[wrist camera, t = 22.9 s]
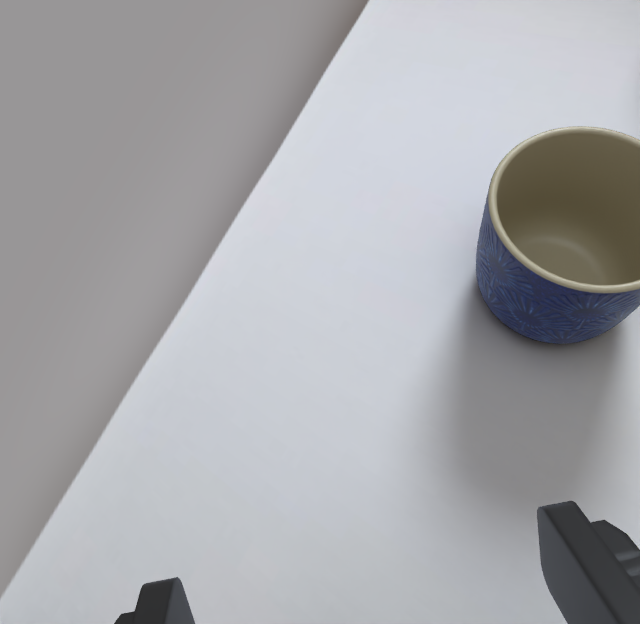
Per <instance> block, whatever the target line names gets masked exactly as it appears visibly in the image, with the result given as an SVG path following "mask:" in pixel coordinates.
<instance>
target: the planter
mask: <svg viewBox="0 0 640 624" xmlns="http://www.w3.org/2000/svg"><path fill="white" fill-rule="evenodd" d="M476 274H477V280H478V285H479V288H480V291H481V294H482V296H483V298H484V300H485V302H486V303H487V305H488V307H489V308H490V309H491V311H492V312H493V313H494V314H495V315H496V316H497V317H498V319H499V320H501V321H502V322H503V323H504V324H505V325H507V326H508V327H509V328H511V329H512V330H514V331H516V332H517V333H519V334H521V335H523V336H526V337H528V338H531V339H534V340H538V341H542V342H547V343H558V344H561V343H575V342H580V341H584V340H587V339H590V338H593V337H596V336H598V335H600V334H602V333H604V332H606V331H608V330H609V329H611V328H612V327H614V326H615V325H617V324H618V323H619V322H621V321H622V320H623V319H625V318H626V317H627V316H628V315H629V314H631V313H632V312H633V311H634V310H635V309H636V308H637V307H638V306H639V305H640V140H638V139H636V138H634V137H632V136H629V135H626V134H623V133H620V132H617V131H613V130H609V129H604V128H597V127H583V126H578V127H565V128H558V129H553V130H549V131H546V132H542V133H540V134H537V135H535V136H532V137H531V138H529V139H527V140H525V141H523V142H522V143H520V144H519V145H517V146H516V147H515V148H513V149H512V150H511V151H510V152H509V153H508V154H507V155H506V156H505V157H504V158H503V159H502V161H501V162H500V163H499V165H498V167H497V168H496V170H495V172H494V174H493V177H492V179H491V182H490V186H489V191H488V195H487V200H486V204H485V209H484V213H483V218H482V222H481V227H480V232H479V238H478V245H477V253H476Z"/></svg>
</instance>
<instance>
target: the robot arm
mask: <svg viewBox="0 0 640 624" xmlns="http://www.w3.org/2000/svg"><path fill="white" fill-rule="evenodd" d="M537 520H538V532H539V545H540V558H541V566H542V571H543V575H544V578H545V581H546V584H547V586H548V588H549V591H550V593H551V595H552V596H553V598H554V600H555V602H556V604H557V605H558V607H559V609H560V611H561V613H562V614H563V616H564V618H565V620H566V621H567V623H568V624H640V550H639V548H638V547H637V546H636V545H635V543H634V542H633V541H632V540H631V539H630V537H629V536H628V535H627V534H626V533H624V532H623V531H621V530H620V529H618V528H616V527H615V526H613V525H612V524H610V523H609V522H607V521H605V520H601V521H596V522H591V523H590V521H589V520H588V519H587V517H586V516H585V515H584V513H583V512H582V511H581V509H580V508H579V507H578V505H577V504H576V503H575V502H573V501H567V502H562V503H557V504H552V505H547V506H542V507H539V508H538V510H537ZM114 624H195V622H194V619H193V616H192V613H191V609H190V606H189V603H188V600H187V597H186V594H185V591H184V588H183V585H182V582H181V580H180V579H179V578H178V577H176V578H171V579H166V580H161V581H156V582H151V583H146V584H144V585H143V586H142V588H141V591H140V594H139V598H138V602H137V605H136V609H135V611H134V612H129V613H124V614H121V615H120V616H119V618H118V619H117V620H116V622H115V623H114Z"/></svg>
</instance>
